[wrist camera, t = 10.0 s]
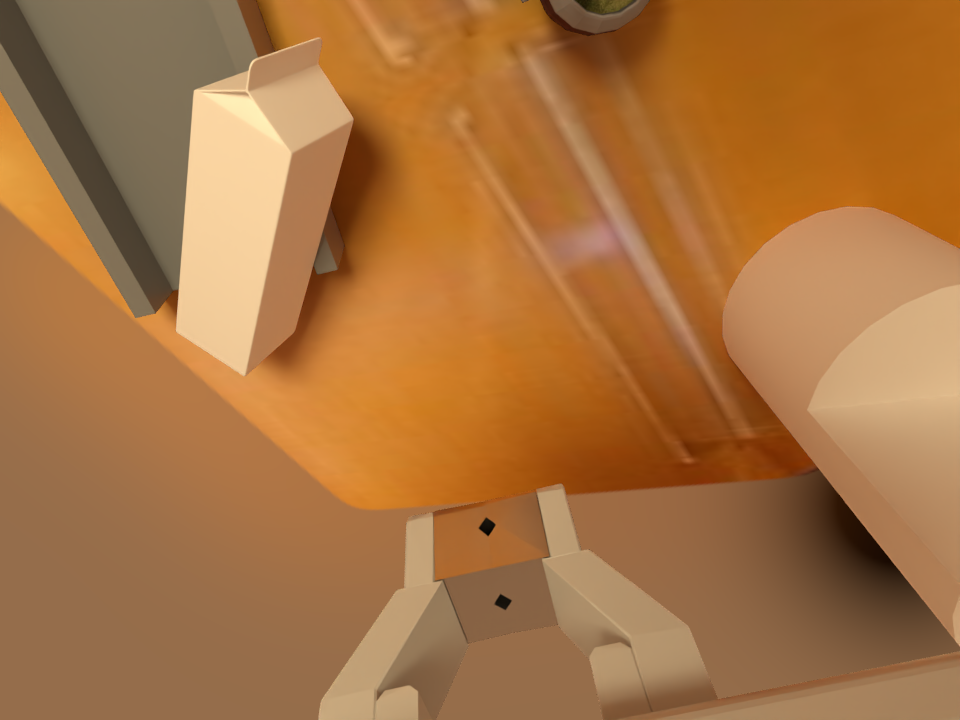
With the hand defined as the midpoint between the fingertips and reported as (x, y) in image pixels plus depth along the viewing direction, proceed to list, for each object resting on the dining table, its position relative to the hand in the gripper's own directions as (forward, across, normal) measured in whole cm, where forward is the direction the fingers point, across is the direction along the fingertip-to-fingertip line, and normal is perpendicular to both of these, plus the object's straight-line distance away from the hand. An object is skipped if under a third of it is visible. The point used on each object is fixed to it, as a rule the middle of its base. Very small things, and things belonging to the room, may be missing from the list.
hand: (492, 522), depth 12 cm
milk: (+33, +18, +10) cm, 39 cm away
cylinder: (+37, -28, +22) cm, 52 cm away
